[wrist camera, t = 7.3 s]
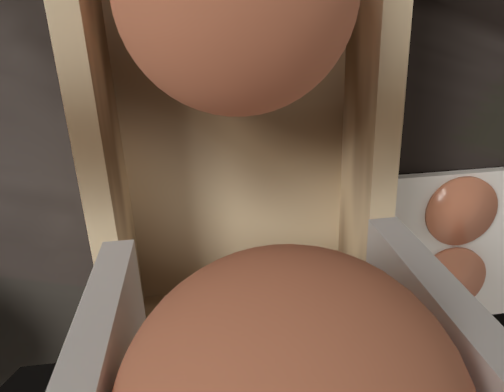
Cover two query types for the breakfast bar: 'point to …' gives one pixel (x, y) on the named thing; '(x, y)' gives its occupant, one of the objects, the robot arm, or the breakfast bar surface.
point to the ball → (291, 330)
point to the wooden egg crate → (229, 150)
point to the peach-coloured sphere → (235, 48)
